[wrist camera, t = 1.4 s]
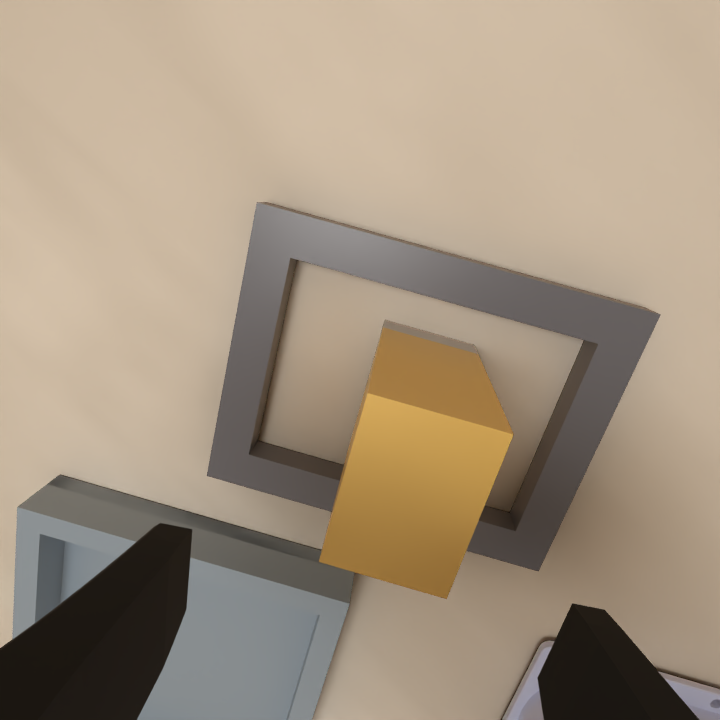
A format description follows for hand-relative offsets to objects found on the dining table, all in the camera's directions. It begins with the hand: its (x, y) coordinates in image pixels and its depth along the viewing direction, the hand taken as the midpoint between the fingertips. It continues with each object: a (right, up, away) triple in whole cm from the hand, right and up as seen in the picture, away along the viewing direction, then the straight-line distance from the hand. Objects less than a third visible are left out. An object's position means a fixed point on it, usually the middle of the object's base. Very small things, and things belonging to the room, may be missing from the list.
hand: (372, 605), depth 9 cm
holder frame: (+2, +3, +10) cm, 11 cm away
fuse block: (+2, +3, +10) cm, 11 cm away
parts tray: (-9, -9, +15) cm, 20 cm away
